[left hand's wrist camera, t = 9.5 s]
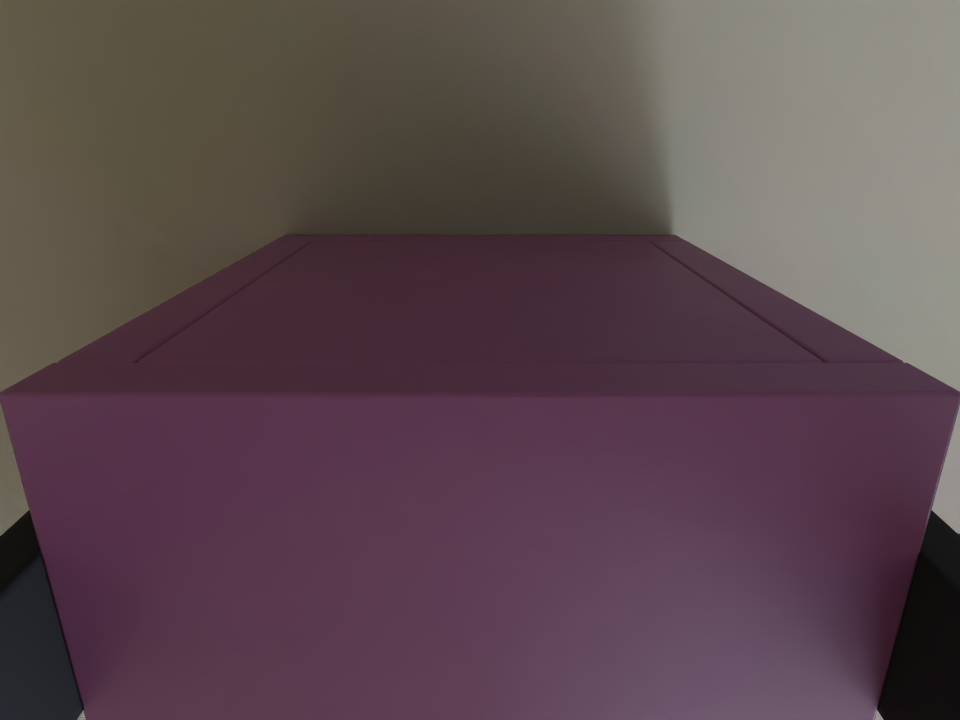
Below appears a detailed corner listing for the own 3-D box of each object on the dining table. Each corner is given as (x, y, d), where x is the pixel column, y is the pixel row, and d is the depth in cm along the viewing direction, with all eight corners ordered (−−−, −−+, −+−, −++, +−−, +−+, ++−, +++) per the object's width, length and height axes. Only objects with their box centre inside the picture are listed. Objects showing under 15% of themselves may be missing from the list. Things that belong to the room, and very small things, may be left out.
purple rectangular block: (623, 764, 26) (732, 1249, 15) (336, 764, 26) (227, 1250, 15) (677, 234, 19) (965, 392, 8) (283, 234, 19) (-5, 392, 8)
